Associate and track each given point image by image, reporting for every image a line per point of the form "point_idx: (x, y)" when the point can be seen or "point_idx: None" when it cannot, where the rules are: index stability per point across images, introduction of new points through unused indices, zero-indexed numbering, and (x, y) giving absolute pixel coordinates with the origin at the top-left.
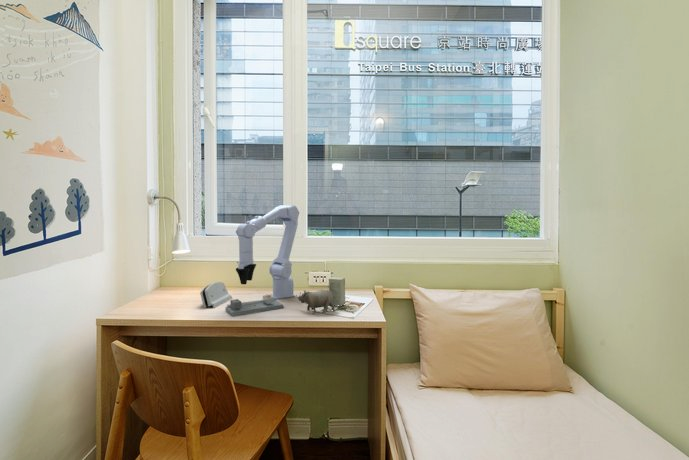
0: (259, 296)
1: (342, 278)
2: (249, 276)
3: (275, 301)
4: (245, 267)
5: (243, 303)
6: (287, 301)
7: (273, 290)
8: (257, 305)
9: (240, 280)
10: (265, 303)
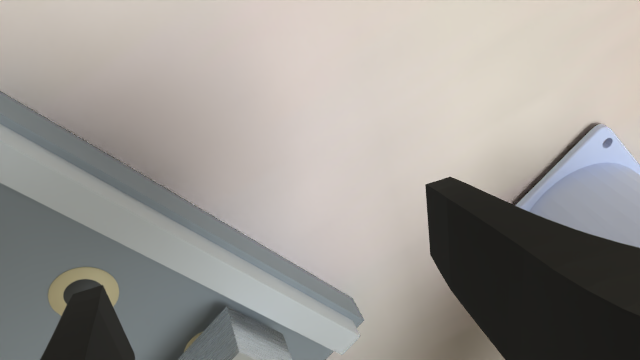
0: (568, 34)
1: None
2: (469, 276)
3: (309, 355)
4: (625, 354)
5: (29, 195)
6: (423, 348)
7: (584, 224)
8: None
9: (48, 354)
10: None
